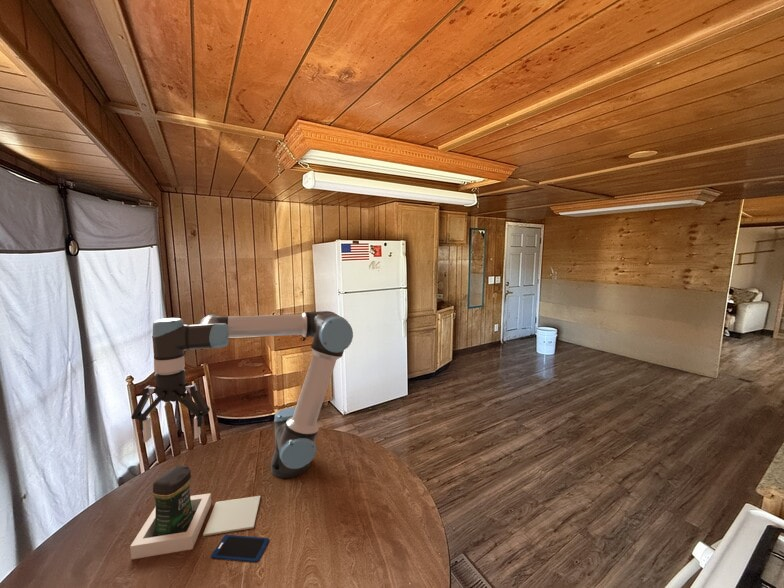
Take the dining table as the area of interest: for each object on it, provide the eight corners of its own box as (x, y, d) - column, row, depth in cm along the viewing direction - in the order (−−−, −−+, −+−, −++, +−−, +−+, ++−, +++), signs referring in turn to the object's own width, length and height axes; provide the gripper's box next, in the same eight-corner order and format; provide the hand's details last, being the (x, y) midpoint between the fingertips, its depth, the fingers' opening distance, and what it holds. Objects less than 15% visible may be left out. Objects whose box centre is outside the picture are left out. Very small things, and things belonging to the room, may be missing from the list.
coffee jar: (174, 545, 92) (170, 485, 90) (149, 541, 94) (145, 482, 91) (198, 518, 102) (195, 463, 100) (176, 514, 103) (173, 461, 101)
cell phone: (225, 536, 96) (224, 534, 96) (270, 540, 95) (270, 538, 95) (209, 559, 89) (209, 557, 89) (258, 563, 88) (258, 561, 88)
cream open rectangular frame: (211, 504, 108) (210, 493, 107) (192, 549, 91) (191, 536, 91) (160, 511, 104) (159, 500, 104) (131, 559, 88) (130, 546, 87)
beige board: (260, 497, 111) (260, 495, 111) (253, 528, 99) (253, 526, 99) (216, 503, 108) (216, 501, 108) (203, 536, 96) (203, 534, 95)
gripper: (219, 364, 101) (221, 428, 104) (129, 367, 97) (133, 434, 99) (211, 373, 94) (213, 441, 97) (113, 376, 89) (118, 448, 92)
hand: (172, 438), depth 98 cm, fingers open, 13 cm apart
